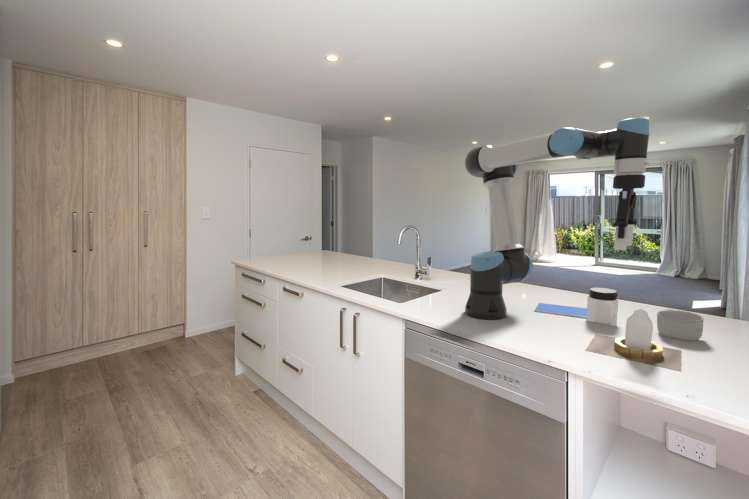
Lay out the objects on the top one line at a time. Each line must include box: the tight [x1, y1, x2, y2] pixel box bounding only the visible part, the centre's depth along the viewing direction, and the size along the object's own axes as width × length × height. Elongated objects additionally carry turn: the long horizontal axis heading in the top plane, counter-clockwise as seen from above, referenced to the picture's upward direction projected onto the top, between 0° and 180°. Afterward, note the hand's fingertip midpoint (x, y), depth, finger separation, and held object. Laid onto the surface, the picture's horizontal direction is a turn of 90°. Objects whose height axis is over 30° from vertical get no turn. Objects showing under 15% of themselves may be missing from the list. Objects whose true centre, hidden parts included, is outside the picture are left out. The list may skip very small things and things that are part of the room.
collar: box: [614, 336, 664, 360], centre depth 97 cm, size 10×10×2 cm
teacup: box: [656, 308, 705, 342], centre depth 110 cm, size 14×11×8 cm
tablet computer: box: [533, 302, 587, 319], centre depth 140 cm, size 19×13×1 cm, turn 58°
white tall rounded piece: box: [624, 308, 654, 350], centre depth 96 cm, size 6×12×6 cm
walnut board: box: [585, 333, 682, 372], centre depth 98 cm, size 20×16×2 cm
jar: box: [585, 287, 619, 327], centre depth 123 cm, size 9×8×12 cm
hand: (623, 247), depth 106 cm, fingers open, 13 cm apart
